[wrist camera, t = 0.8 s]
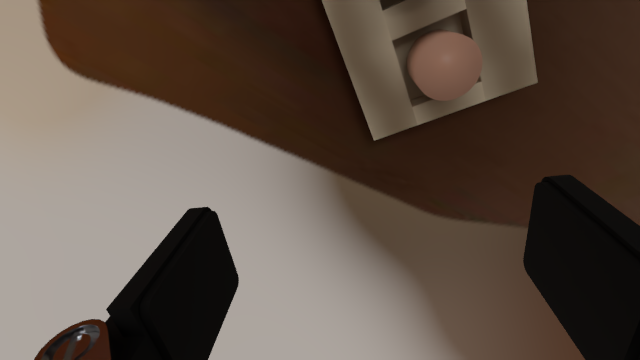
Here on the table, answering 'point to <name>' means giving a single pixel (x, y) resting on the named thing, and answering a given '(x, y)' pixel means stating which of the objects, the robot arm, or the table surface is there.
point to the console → (400, 34)
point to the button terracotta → (444, 64)
